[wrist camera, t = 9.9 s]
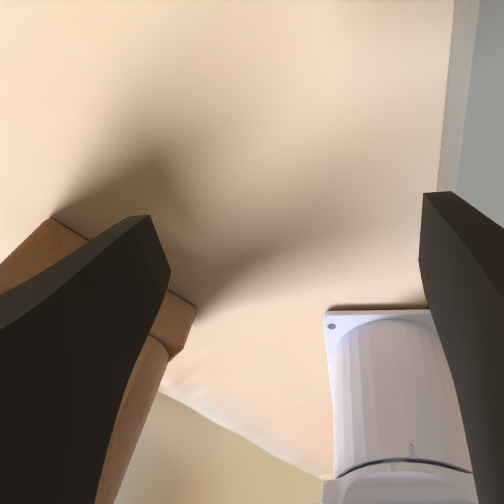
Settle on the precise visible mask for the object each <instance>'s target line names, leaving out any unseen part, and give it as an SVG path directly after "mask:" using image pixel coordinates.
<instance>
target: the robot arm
mask: <svg viewBox="0 0 504 504" xmlns="http://www.w3.org/2000/svg"><path fill="white" fill-rule="evenodd" d="M418 261H419V266H420V272H421V278H422V283H423V288H424V293H425V297H426V300H427V303H428V306H429V309H416V310H361V311H328V312H326V313H325V314H324V315H323V325H324V334H325V343H326V352H327V360H328V369H329V378H330V387H331V396H332V402H333V439H334V480H326V481H323V482H322V503H315V504H504V228H503V227H501V226H500V225H498V224H497V223H495V222H494V221H492V220H491V219H490V218H488V217H487V216H485V215H484V214H483V213H481V212H480V211H479V210H477V209H476V208H474V207H473V206H472V205H470V204H469V203H468V202H466V201H465V200H463V199H462V198H461V197H459V196H458V195H456V194H455V193H453V192H452V191H443V192H431V193H423V205H422V219H421V232H420V246H419V260H418ZM170 274H171V269H170V267H169V264H168V262H167V259H166V256H165V254H164V251H163V249H162V246H161V243H160V241H159V238H158V235H157V233H156V230H155V228H154V225H153V222H152V220H151V217H150V215H143V216H130V217H128V218H126V219H124V220H122V221H120V222H119V223H117V224H115V225H114V226H112V227H110V228H109V229H107V230H106V231H104V232H103V233H101V234H99V235H98V236H96V237H95V238H93V239H92V240H90V241H89V242H87V243H86V244H84V245H83V246H81V247H80V248H78V249H77V250H75V251H74V252H72V253H71V254H69V255H68V256H66V257H64V258H63V259H61V260H60V261H58V262H56V263H55V264H53V265H52V266H50V267H48V268H47V269H45V270H44V271H42V272H40V273H39V274H37V275H35V276H34V277H32V278H30V279H29V280H27V281H25V282H23V283H21V284H20V285H18V286H16V287H14V288H12V289H10V290H8V291H6V292H5V293H3V294H1V295H0V504H95V499H96V494H97V489H98V485H99V481H100V477H101V473H102V469H103V465H104V461H105V457H106V453H107V449H108V445H109V442H110V438H111V435H112V432H113V428H114V425H115V421H116V418H117V414H118V411H119V408H120V405H121V402H122V399H123V395H124V392H125V389H126V386H127V383H128V380H129V378H130V375H131V373H132V370H133V368H134V365H135V363H136V361H137V359H138V356H139V354H140V352H141V350H142V348H143V345H144V343H145V341H146V339H147V336H148V334H149V332H150V330H151V328H152V325H153V323H154V321H155V319H156V316H157V314H158V312H159V310H160V307H161V305H162V302H163V300H164V296H165V293H166V289H167V286H168V282H169V278H170ZM330 324H334V325H330Z"/></svg>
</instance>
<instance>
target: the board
mask: <svg viewBox="0 0 504 504" xmlns="http://www.w3.org/2000/svg"><path fill="white" fill-rule="evenodd" d="M443 191H452V192H453V193H455V194H456V195H458V196H459V197H461V198H462V199H463V200H465V201H466V202H468V203H469V204H470V205H472V206H473V207H474V208H476V209H477V210H479V211H480V212H481V213H483V214H484V215H485V216H487V217H488V218H490V219H491V220H492V221H494V222H495V223H497V224H498V225H500V226H501V227H503V228H504V0H455V7H454V17H453V28H452V38H451V49H450V60H449V70H448V81H447V91H446V102H445V112H444V123H443V133H442V144H441V154H440V165H439V175H438V186H437V192H443Z"/></svg>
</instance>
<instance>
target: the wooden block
mask: <svg viewBox="0 0 504 504" xmlns="http://www.w3.org/2000/svg"><path fill="white" fill-rule="evenodd" d="M87 242H89V241H88V240H86V239H85V238H83V237H81V236H80V235H78V234H76V233H75V232H73V231H72V230H70V229H68V228H67V227H65V226H63V225H62V224H60V223H59V222H57V221H55V220H54V219H47V220H45V221H44V222H43V223H42V224H41V225H40V226H39V227H38V228H37V229H36V230H35V231H34V232H33V233H32V234H31V235H30V236H29V237H28V238H27V239H25V240H24V241H23V242H22V243H21V244H20V245H19V246H18V247H17V248H16V249H15V250H14V251H13V252H12V253H11V254H10V255H9V256H8V257H7V258H6V259H5V260H4V261H3V262H2V263H1V264H0V295H1V294H3V293H5V292H6V291H8V290H10V289H12V288H14V287H16V286H18V285H20V284H21V283H23V282H25V281H27V280H29V279H30V278H32V277H34V276H35V275H37V274H39V273H40V272H42V271H44V270H45V269H47V268H48V267H50V266H52V265H53V264H55V263H56V262H58V261H60V260H61V259H63V258H64V257H66V256H68V255H69V254H71V253H72V252H74V251H75V250H77V249H78V248H80V247H81V246H83V245H84V244H86V243H87ZM196 312H197V309H196V308H195V307H194V306H192V305H191V304H189V303H187V302H186V301H184V300H183V299H181V298H179V297H178V296H176V295H174V294H173V293H171V292H170V291H168V290H166V293H165V296H164V300H163V302H162V305H161V307H160V310H159V312H158V314H157V316H156V319H155V321H154V323H153V325H152V328H151V330H150V332H149V334H148V336H147V339H146V341H145V343H144V345H143V348H142V350H141V352H140V354H139V356H138V359H137V361H136V363H135V365H134V368H133V370H132V373H131V375H130V378H129V380H128V383H127V386H126V389H125V392H124V395H123V399H122V402H121V405H120V408H119V411H118V414H117V418H116V421H115V425H114V428H113V432H112V435H111V438H110V442H109V445H108V449H107V453H106V457H105V461H104V465H103V469H102V473H101V477H100V481H99V485H98V489H97V494H96V499H95V504H113V503H114V501H115V498H116V496H117V493H118V491H119V488H120V486H121V483H122V480H123V478H124V475H125V473H126V470H127V467H128V465H129V462H130V460H131V457H132V455H133V452H134V449H135V447H136V444H137V442H138V439H139V436H140V434H141V431H142V429H143V426H144V424H145V421H146V418H147V416H148V413H149V411H150V408H151V406H152V403H153V400H154V398H155V395H156V393H157V390H158V388H159V385H160V382H161V380H162V377H163V375H164V372H165V370H166V367H167V364H168V362H169V361H170V360H172V359H173V358H174V357H175V356H176V355H177V354H178V353H179V352H180V351H181V350H183V348H184V345H185V342H186V340H187V337H188V334H189V331H190V329H191V326H192V323H193V320H194V318H195V315H196Z"/></svg>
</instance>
